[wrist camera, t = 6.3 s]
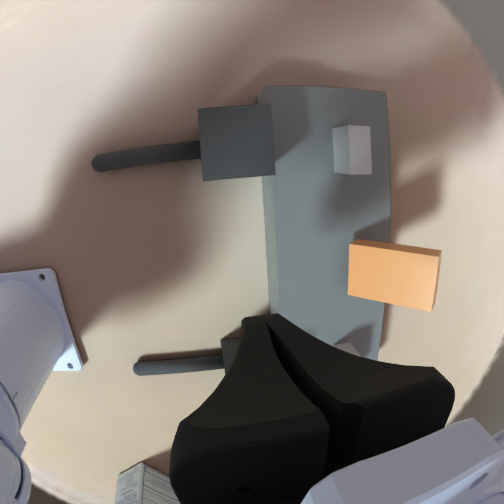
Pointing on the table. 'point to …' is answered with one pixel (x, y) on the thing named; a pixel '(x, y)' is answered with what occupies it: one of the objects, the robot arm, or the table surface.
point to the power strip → (326, 208)
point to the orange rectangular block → (394, 273)
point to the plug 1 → (213, 145)
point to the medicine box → (144, 487)
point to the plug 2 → (191, 362)
